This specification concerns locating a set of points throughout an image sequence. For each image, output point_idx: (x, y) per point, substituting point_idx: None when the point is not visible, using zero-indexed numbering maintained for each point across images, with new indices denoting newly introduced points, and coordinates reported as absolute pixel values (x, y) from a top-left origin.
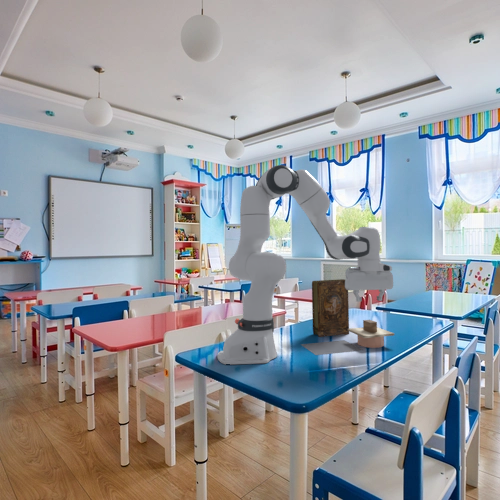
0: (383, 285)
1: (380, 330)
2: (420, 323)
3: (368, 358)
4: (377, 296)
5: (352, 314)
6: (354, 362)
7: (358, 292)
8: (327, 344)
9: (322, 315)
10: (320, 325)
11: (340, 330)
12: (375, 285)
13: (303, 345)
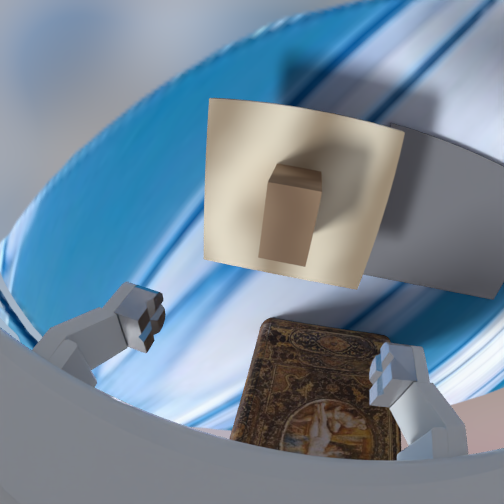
0: (11, 396)
1: (234, 181)
2: (32, 285)
3: (436, 51)
4: (145, 341)
5: (140, 405)
6: (500, 60)
7: (438, 433)
8: (444, 260)
9: None
10: None
11: (303, 338)
12: (130, 477)
13: (497, 287)
